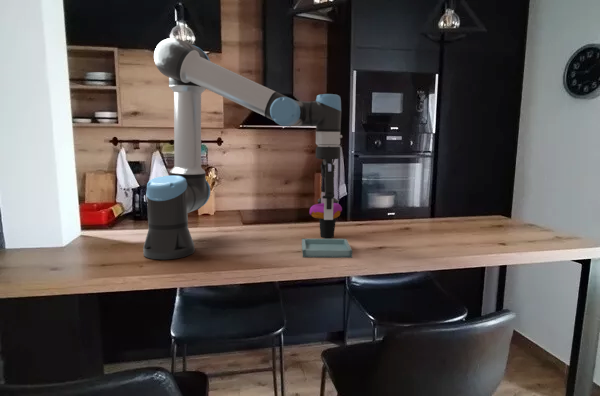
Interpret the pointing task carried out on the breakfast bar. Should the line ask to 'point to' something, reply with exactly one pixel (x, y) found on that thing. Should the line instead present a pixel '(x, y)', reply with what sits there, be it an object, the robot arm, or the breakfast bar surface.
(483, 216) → the breakfast bar surface
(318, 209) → the donut
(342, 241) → the tray
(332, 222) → the drinking cup
